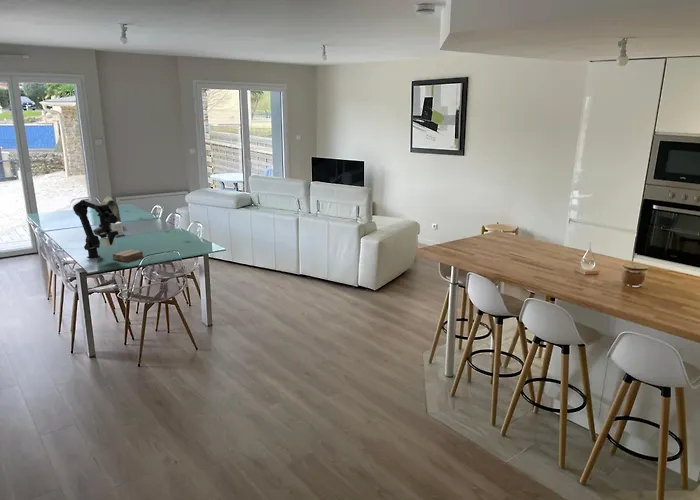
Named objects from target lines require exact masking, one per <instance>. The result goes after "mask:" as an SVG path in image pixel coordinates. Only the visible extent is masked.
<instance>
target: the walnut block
mask: <svg viewBox="0 0 700 500" xmlns="http://www.w3.org/2000/svg"><path fill="white" fill-rule="evenodd" d="M143 253H144V252H143V251H142V250H136V249H130V248H128V249H126V250H122V251H118V252H115V253H112V260H115V261H120V262H126V263H127V262H130V261H134V260H136V259H140V258H141V259H142V258H144V254H143Z"/></svg>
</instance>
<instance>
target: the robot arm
mask: <svg viewBox="0 0 700 500" xmlns="http://www.w3.org/2000/svg"><path fill="white" fill-rule="evenodd" d="M88 208H91V209H93V210H94V211H95V212H96V213H98V214H96V215H97V217H98V219H99V223H100V224H98V227H96V228H95V229H93V228H92V226H91V222H90V220H89V217H88ZM72 210H73V212H74V214H75V215H76V216H78V218H79V220H80V223H81V225H82V228H83V231H84V233H85V245H84V246H83V247H84V251H87V254H88V255H87V257H88V258H89V259H95V258H98V257H101V255H100V254H99V252H98V249H100V244H101V238H103V237H108V239H109V243H110V245H112V243H113V240H114V241H115V237H116V235H118V236H120V235H119V234H118V231H115V230H113V231H112V229H110V225H111V223H112V224H115V223H116V222H117V217H116V216H115V215H114V214H113V213H112V211H111V209H110V208H109V206H108V205H107V204H102V203H98V202H96V201H93V200H91V199H89V198H83V199H80V201H79V202H77V203H76V204H74V205H73V207H72ZM99 237H100V238H99Z"/></svg>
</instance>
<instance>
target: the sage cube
mask: <svg viewBox="0 0 700 500" xmlns="http://www.w3.org/2000/svg"><path fill="white" fill-rule="evenodd" d="M100 244H101V247H103V248H109V247H110V248H111V247H112V246H113V247H114V246H115V245H116V244H115V239H114V240H113V243H112V245H110V243H109V239H108V237H103V238H101V237H100Z"/></svg>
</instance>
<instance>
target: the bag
mask: <svg viewBox="0 0 700 500" xmlns="http://www.w3.org/2000/svg"><path fill="white" fill-rule="evenodd" d="M101 204H107V205H108V206H109V208H110V209H111V211H112V213H113V214H114V215H115V216H116V217H117V222H122V220H121V213H120V209H119V205H118V204H117V202H116V201H115V200H113V198H112V197H110V196H109V195H107V196H106V197H105V198H104V199H103V200H102V202H101ZM110 229H111V225H110Z"/></svg>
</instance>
